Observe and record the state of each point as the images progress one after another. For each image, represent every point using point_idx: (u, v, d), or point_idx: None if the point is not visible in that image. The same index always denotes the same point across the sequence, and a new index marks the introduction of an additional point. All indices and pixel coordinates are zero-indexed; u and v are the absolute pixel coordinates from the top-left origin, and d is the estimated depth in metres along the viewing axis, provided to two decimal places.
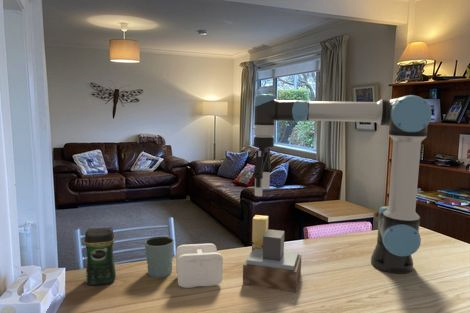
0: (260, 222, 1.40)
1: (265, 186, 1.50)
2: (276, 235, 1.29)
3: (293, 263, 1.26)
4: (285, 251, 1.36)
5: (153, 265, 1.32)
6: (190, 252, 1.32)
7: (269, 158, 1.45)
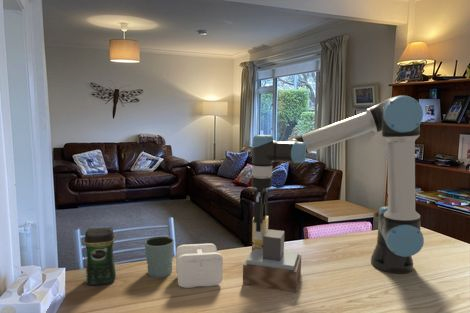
0: None
1: None
2: (276, 235, 1.29)
3: (293, 263, 1.26)
4: (285, 251, 1.36)
5: (153, 265, 1.32)
6: (190, 252, 1.32)
7: (266, 200, 1.43)
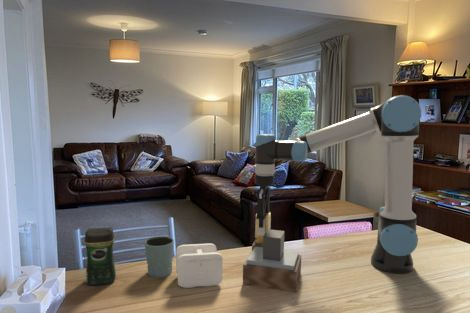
0: None
1: None
2: (276, 235, 1.29)
3: (293, 263, 1.26)
4: (285, 251, 1.36)
5: (153, 265, 1.32)
6: (190, 252, 1.32)
7: (269, 197, 1.48)
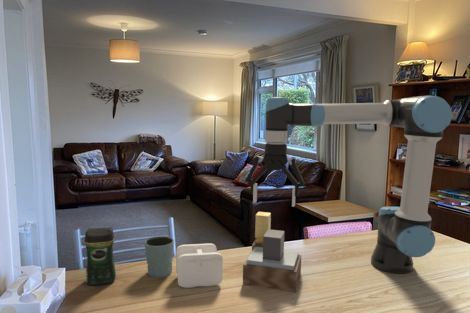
0: (262, 218, 1.45)
1: None
2: (276, 235, 1.29)
3: (293, 263, 1.26)
4: (285, 251, 1.36)
5: (153, 265, 1.32)
6: (190, 252, 1.32)
7: (284, 169, 1.27)
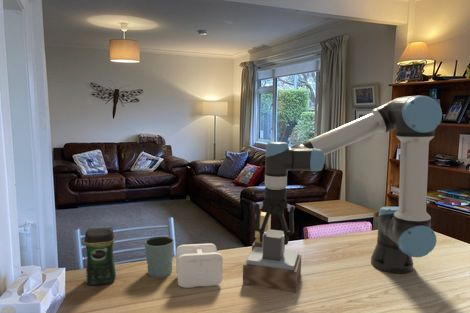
0: (262, 218, 1.45)
1: None
2: (276, 235, 1.29)
3: (293, 263, 1.26)
4: (285, 251, 1.36)
5: (153, 265, 1.32)
6: (190, 252, 1.32)
7: (281, 215, 1.28)
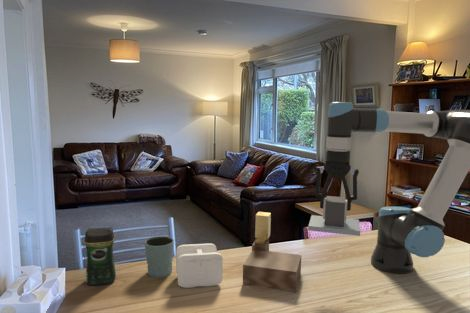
0: (262, 218, 1.45)
1: None
2: (339, 201, 1.22)
3: (358, 229, 1.20)
4: None
5: (153, 265, 1.32)
6: (190, 252, 1.32)
7: (344, 179, 1.22)
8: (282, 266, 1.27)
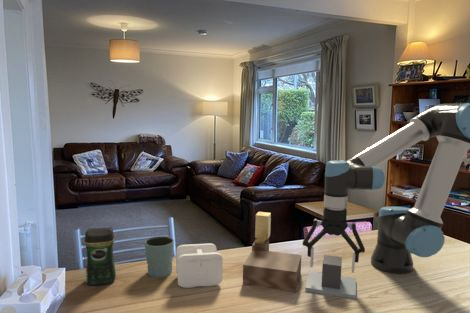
0: (262, 218, 1.45)
1: None
2: (336, 263, 1.25)
3: (354, 292, 1.22)
4: (342, 277, 1.33)
5: (153, 265, 1.32)
6: (190, 252, 1.32)
7: (345, 235, 1.24)
8: (282, 266, 1.27)
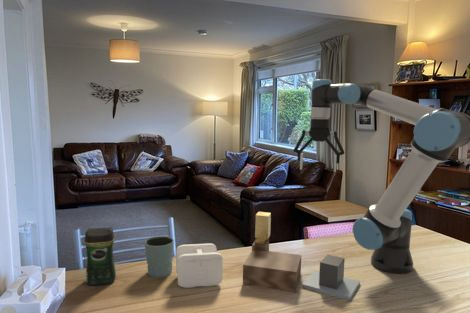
0: (262, 218, 1.45)
1: None
2: (334, 263, 1.25)
3: (350, 294, 1.21)
4: (345, 279, 1.31)
5: (153, 265, 1.32)
6: (190, 252, 1.32)
7: (328, 140, 1.51)
8: (282, 266, 1.27)
